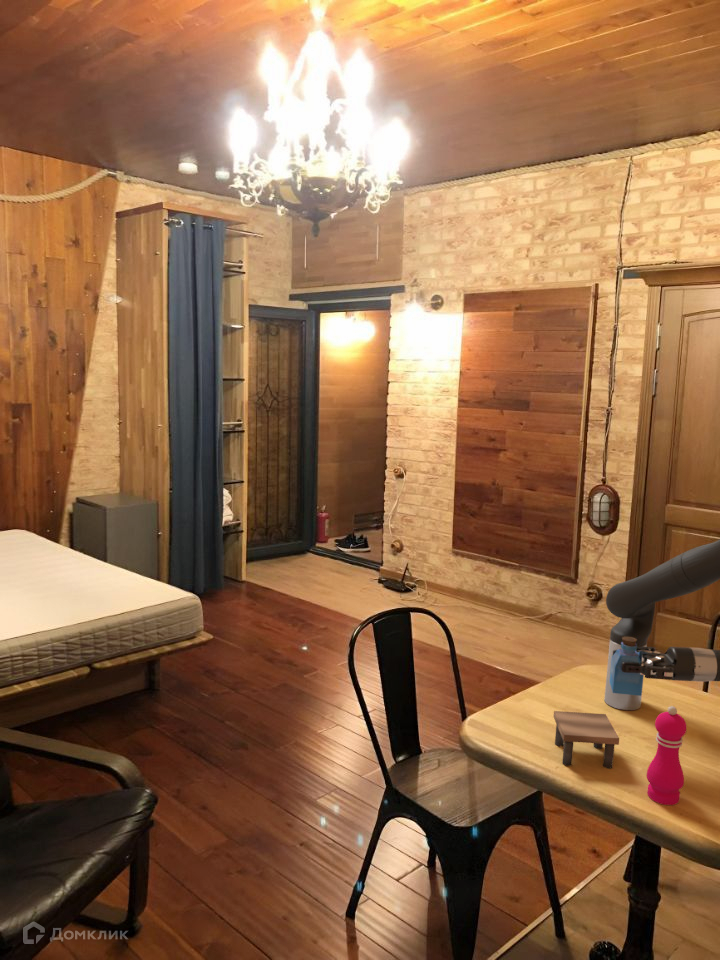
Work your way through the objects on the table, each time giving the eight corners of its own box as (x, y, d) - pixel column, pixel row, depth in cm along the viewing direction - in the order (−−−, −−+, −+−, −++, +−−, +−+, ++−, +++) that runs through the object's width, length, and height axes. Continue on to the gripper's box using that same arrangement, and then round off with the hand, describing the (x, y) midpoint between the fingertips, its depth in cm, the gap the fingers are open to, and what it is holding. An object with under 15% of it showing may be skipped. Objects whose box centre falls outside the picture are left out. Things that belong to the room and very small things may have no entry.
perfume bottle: (641, 695, 177) (646, 645, 175) (612, 692, 178) (617, 642, 176) (637, 684, 183) (641, 635, 181) (609, 682, 184) (613, 633, 182)
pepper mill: (662, 809, 158) (672, 716, 155) (637, 791, 165) (646, 701, 162) (689, 803, 161) (699, 711, 158) (663, 785, 168) (672, 696, 165)
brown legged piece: (551, 740, 186) (554, 710, 185) (602, 744, 185) (605, 714, 184) (561, 766, 174) (564, 734, 173) (616, 770, 173) (619, 738, 172)
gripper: (681, 637, 185) (610, 634, 186) (704, 660, 171) (627, 656, 172) (678, 667, 187) (607, 664, 187) (701, 693, 172) (625, 689, 173)
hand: (617, 660), depth 180 cm, fingers closed on perfume bottle, 7 cm apart
